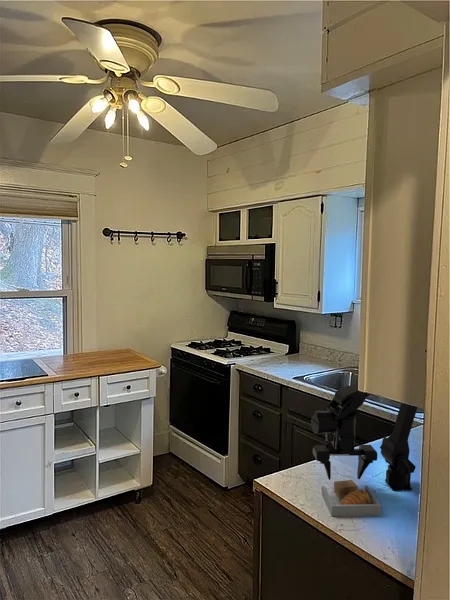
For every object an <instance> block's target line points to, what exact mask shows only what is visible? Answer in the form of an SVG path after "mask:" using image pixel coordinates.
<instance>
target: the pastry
mask: <svg viewBox="0 0 450 600" xmlns="http://www.w3.org/2000/svg"><path fill="white" fill-rule="evenodd" d="M349 504H372V502H371V499H370V497H369V495H368V493H367V492H365V489H359V488H358V490H356V491H354V492H350V493H348V494H347V495H346V496H345V497H344V498H341V501H340V505H349Z"/></svg>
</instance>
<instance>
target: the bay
mask: <svg viewBox="0 0 450 600" xmlns="http://www.w3.org/2000/svg"><path fill="white" fill-rule="evenodd" d="M364 491H365V492H367V493H368V495H369V497H370V499H371V502H372V504H349V505H341V504H334V502H333V500H332V497H331V496H330V494H329V492H328V490H327V487H326V486H325V485H322V486H321V497H322V500H323V501H324V503H325V506H326V507H327V509H328V512H329V514H330V516H331V517H369V516H370V517H371V516H379V517H380V516H381V515H382V514H381V513H382V505H381V503H380V502H379V500H378V499H377V498H376V496H375V494H374V493H373V492H372V490H371V488H370V487H369V486H368V485H367V484H365V485H364Z"/></svg>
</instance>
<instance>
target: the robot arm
mask: <svg viewBox="0 0 450 600" xmlns="http://www.w3.org/2000/svg"><path fill="white" fill-rule="evenodd" d="M358 383H359V382H356V383H355V384H351V385H350V384H349V385H346V386H344V387H341V388H339V389H337V390H336V391H335V392H334V396H333V398H331V401H330V402H329V404H328V405H327V406H326V409H327V410H314V413H313V415H312V417H311V418H310V425H311V430H312V432H313V433H314V434H315V435H322V434H325V435H324V436H325V437H324V439H325V441H326V442H330V444H332V447H333V449H332V448H330V449H329V448H328V447H327V445H326V444H319V445H317V444H315V445H314V446H313V448H312V454H313V457H314V458H315V460H316V461H317V462H319V463H320V464H321V465H323V466H324V469H325V472H326V473H325V474H326V476H327V479H328V481H330V480H331V476H332V475H331V474H332V473H331V471H332V469H331V468H332V467H331V466H332V465H331V464H332V463H331V461H330V459H331V457H338V456H339V457H341V456H345V457H347V456H349V457H352V456H353V457H354V456H357V457H358V458H357V459H358V460H357V461H358V464H357V472H356V478H357V480H361V477H362V476H363V475H364V473H365V471H366V469H367V468H368V467H369V466H370V464H373V463H374V462H375V461H378V452H377V450H376V449H375V448H374V447H373V446H372V444H359V445H358V448H355V441H357V437H356V418H362V417H363V414H362V413H360V411H359V410H358V409H359V408H360V407H362V405H364V403H365V401H366V400H367V398H368V397H369V396H371V395H372V394H367V393H363V392H359V391H358ZM338 407H339V408H341V409H339V408H338ZM418 407H419V406H418ZM418 407H415V406H411V405H407V404H402V403H401V402H400V406H399V410H398V412H397V416H396V420H395V423H394V426H393V429H392V433H391V434H390V435H388V437H387V436H383V437H382V442H381V445H380V446H379V448H380V455H381V457H382V458H383V459H384V461H385V463H387V464H388V465H387V469H386V470H385V479H384V481H385V483H386V484H387V485H388V487H389V488H390V489H391V491H413V487H412V486H411V477H412V474H413V473H414V472H415V470H416V465H415V464H414V463H413V462H412V461H411V460H410V459H409V457H410V453H411V452H410V445H409V437H410V434H411V430H412V428H413V424H414V420H415V417H416V413H417V411H418ZM330 456H331V457H330Z"/></svg>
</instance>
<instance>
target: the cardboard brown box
mask: <svg viewBox="0 0 450 600" xmlns="http://www.w3.org/2000/svg"><path fill="white" fill-rule="evenodd" d="M358 489H359V486H358V485H357V484H356V482H355V481H354V480H352V479H347V480H337V481H333V492H334V494H335V495H336V497H337V498H338V499H343V498H344V497H345V496H346V495H347V494H348V493H350V492H354V491H356V490H358Z"/></svg>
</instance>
